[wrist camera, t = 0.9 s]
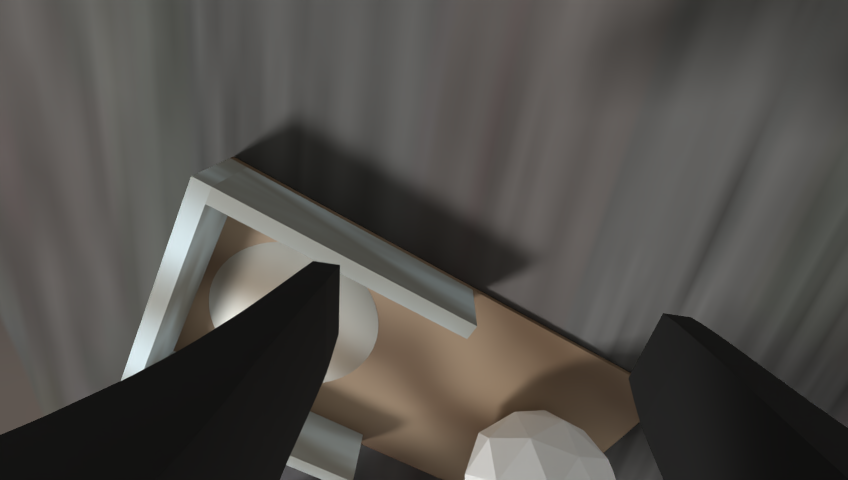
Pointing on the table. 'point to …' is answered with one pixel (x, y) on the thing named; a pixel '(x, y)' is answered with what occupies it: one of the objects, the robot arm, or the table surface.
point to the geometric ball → (536, 451)
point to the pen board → (372, 332)
